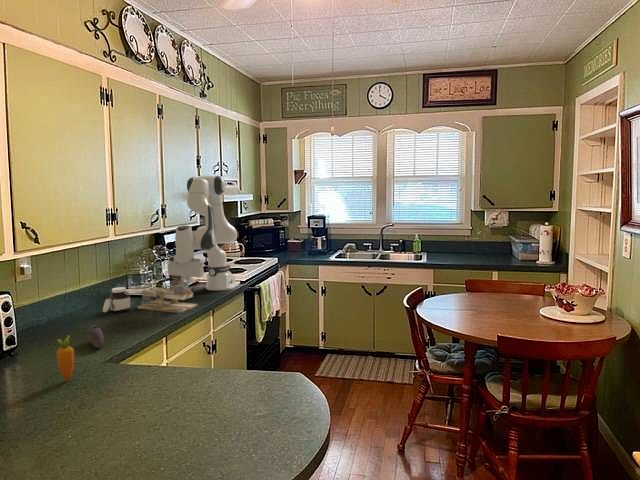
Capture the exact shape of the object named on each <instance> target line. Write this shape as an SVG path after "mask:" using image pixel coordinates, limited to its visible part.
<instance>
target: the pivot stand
mask: <svg viewBox="0 0 640 480" xmlns="http://www.w3.org/2000/svg"><path fill="white" fill-rule="evenodd" d="M169 289H171V290H174V286H170V285H169ZM198 306H199V305H198V303H190V302H181V301H179V300H178V299H170V300H165V298H164V296H163V290H157V291H156V299H155V300H153V301H150V302H146V303H144V304H141V305H137V306H136V307H137V309H140V310H148V311H157V312H165V313H166V312H167V313H168V312H169V313H177V314H180V313H184V312H185V311H189V310H191V309H194V308H196V307H198Z"/></svg>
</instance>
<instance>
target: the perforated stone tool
mask: <svg viewBox="0 0 640 480" xmlns="http://www.w3.org/2000/svg"><path fill="white" fill-rule="evenodd" d="M86 336H87V340H88V342H89V343H90V344H91V346H93V347H94V348H96V349H101V348H102V347H103V346H104V344H105V338H104V333H103V331H102V330H101V328H100V326H98V325H96V324H92V325H89V326H88V327H87V331H86Z"/></svg>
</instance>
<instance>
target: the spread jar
mask: <svg viewBox="0 0 640 480" xmlns="http://www.w3.org/2000/svg"><path fill="white" fill-rule="evenodd" d="M109 308H110V309H109ZM130 308H131V296H130V294H129V292H128V291H127V287H125V286H123V287H122V286H119V287H113V288H111V293H110V295H109V298H106V299H105V300H104V304H103V307H102V312H103V313H108V311H109V310H111V311H112V312H113V313H118V314H120V313H125V312H127V311H128V310H129V309H130Z"/></svg>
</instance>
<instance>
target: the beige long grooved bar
mask: <svg viewBox="0 0 640 480" xmlns="http://www.w3.org/2000/svg"><path fill="white" fill-rule="evenodd" d="M157 290H163V296H164V299H170V300H171V299H178V301H179V300H180V301H186V300H188V299H190V298H193V297H194V292H192V290H191V289H189V290H186V291H183V294H181V293H174V290H171V289H170V288H160V287H152V286H151V287H149V289H142V291H141V296H142V297H141V298H142V300H144V301H152V300H153V301H154V300H156V291H157Z"/></svg>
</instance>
